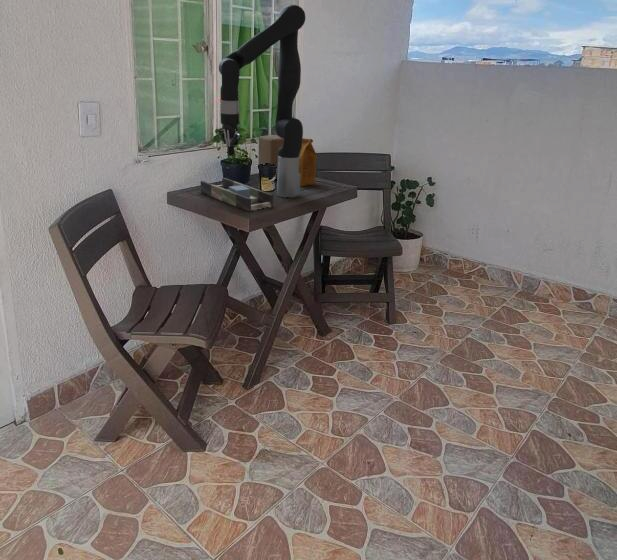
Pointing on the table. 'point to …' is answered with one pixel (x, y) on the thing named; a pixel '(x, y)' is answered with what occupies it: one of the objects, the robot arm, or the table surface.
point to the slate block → (240, 190)
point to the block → (269, 149)
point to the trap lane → (238, 195)
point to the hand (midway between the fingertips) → (230, 155)
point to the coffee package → (307, 163)
